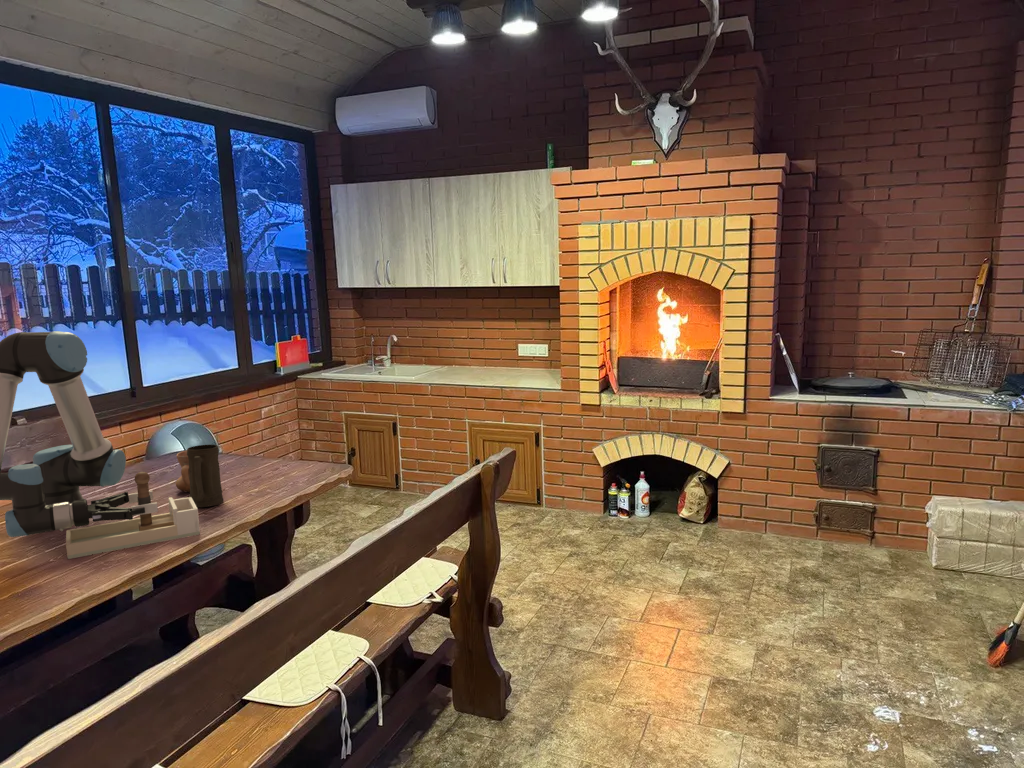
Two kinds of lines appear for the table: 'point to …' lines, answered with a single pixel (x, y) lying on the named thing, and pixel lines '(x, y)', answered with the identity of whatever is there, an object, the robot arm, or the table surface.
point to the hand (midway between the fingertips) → (155, 500)
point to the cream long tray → (133, 531)
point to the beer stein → (204, 475)
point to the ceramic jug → (183, 472)
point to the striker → (144, 498)
